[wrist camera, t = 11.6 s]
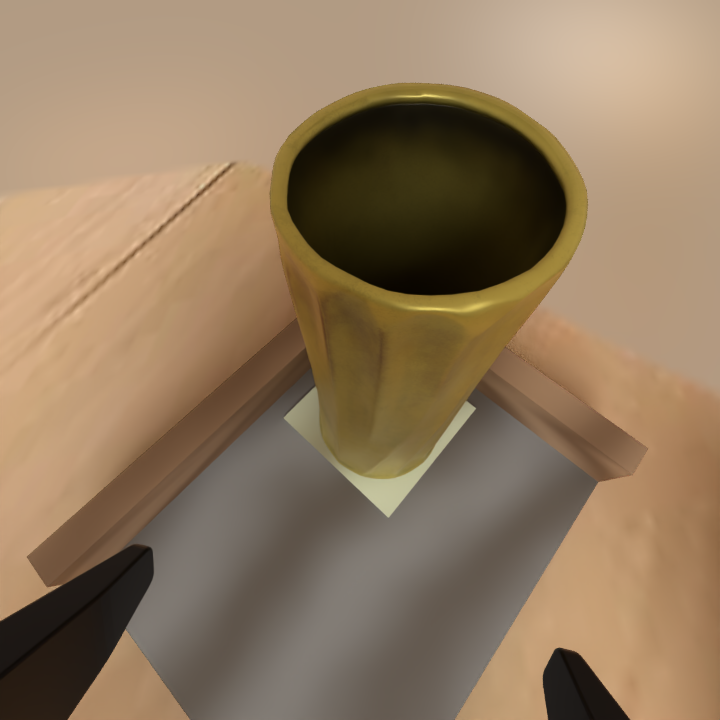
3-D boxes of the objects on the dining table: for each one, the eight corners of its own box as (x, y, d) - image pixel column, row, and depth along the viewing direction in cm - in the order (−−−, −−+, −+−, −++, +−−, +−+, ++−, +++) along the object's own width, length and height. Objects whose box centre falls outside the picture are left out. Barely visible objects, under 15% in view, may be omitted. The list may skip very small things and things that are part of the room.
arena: (600, 461, 19) (648, 448, 16) (334, 893, 13) (327, 1008, 10) (369, 289, 24) (371, 252, 21) (86, 552, 18) (26, 556, 14)
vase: (295, 435, 19) (156, 216, 6) (361, 343, 21) (369, 32, 8) (401, 505, 17) (535, 431, 4) (460, 399, 20) (665, 139, 7)
